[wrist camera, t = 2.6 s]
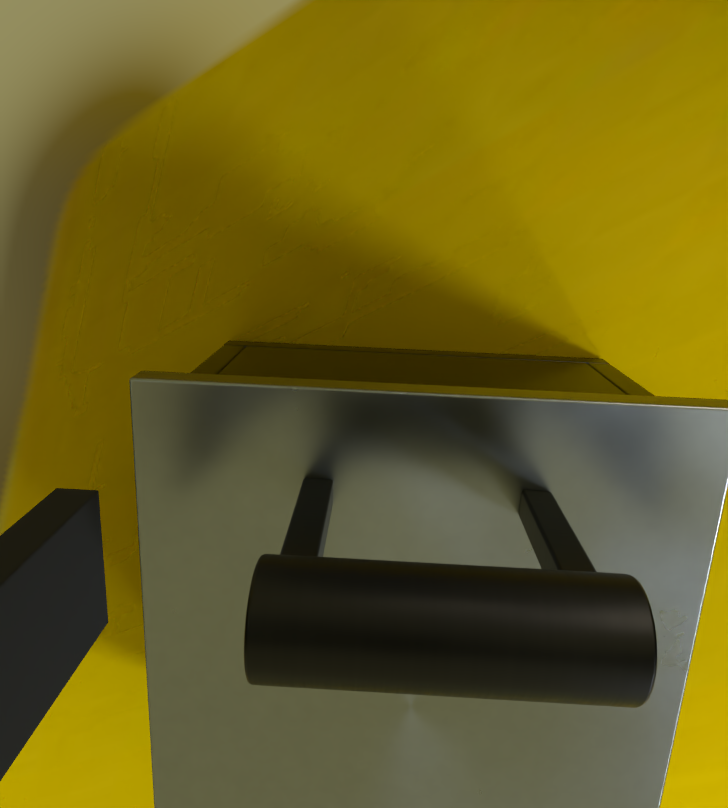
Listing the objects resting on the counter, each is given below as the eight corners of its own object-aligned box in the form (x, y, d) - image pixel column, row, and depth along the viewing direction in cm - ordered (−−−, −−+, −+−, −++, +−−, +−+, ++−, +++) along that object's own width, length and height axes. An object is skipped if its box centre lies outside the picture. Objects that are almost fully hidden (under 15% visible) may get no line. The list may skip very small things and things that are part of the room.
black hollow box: (228, 340, 24) (143, 410, 16) (603, 358, 24) (718, 439, 16) (233, 696, 29) (169, 899, 20) (550, 715, 29) (618, 929, 20)
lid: (141, 369, 16) (-37, 485, 9) (727, 398, 15) (978, 540, 9) (169, 900, 20) (65, 1227, 14) (619, 930, 20) (730, 1279, 14)
